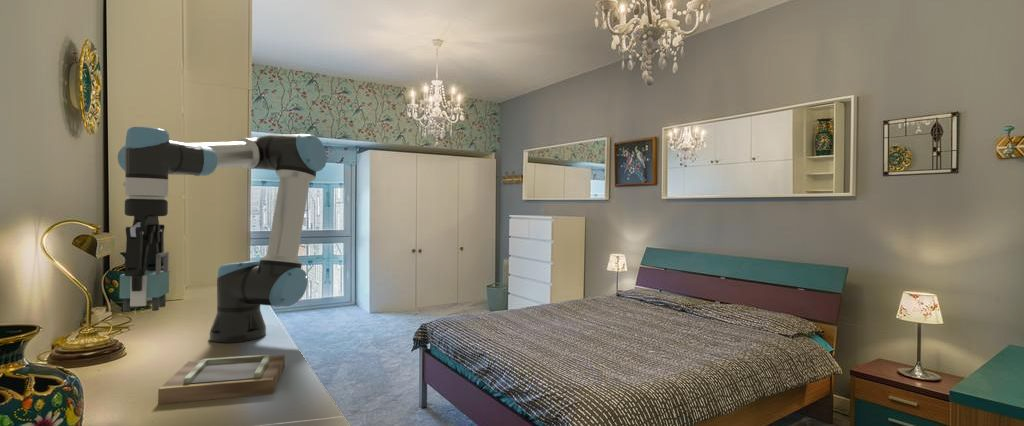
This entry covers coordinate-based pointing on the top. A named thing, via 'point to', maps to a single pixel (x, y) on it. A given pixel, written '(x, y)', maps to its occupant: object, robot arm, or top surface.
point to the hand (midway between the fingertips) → (145, 302)
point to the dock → (223, 378)
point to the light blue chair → (149, 285)
